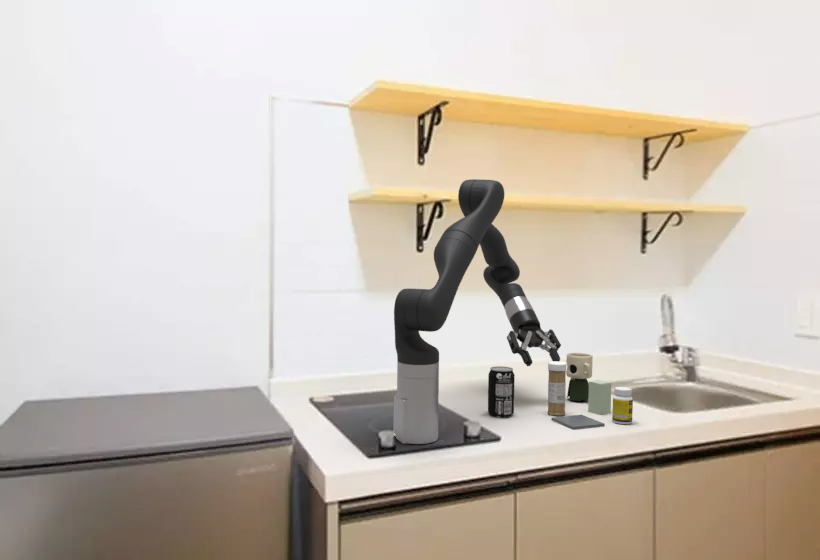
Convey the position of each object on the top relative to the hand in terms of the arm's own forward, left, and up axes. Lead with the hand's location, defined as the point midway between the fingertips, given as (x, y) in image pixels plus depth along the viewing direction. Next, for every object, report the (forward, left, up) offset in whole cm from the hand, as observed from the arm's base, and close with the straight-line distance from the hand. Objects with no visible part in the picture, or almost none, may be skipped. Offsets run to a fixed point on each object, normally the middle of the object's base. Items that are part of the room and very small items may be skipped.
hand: (543, 363), depth 170 cm
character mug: (+15, +5, -12) cm, 20 cm away
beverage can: (-14, -2, -12) cm, 19 cm away
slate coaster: (0, -15, -12) cm, 19 cm away
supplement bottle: (+11, -18, -12) cm, 24 cm away
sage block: (+12, -8, -12) cm, 19 cm away
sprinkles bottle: (0, -6, -12) cm, 14 cm away
